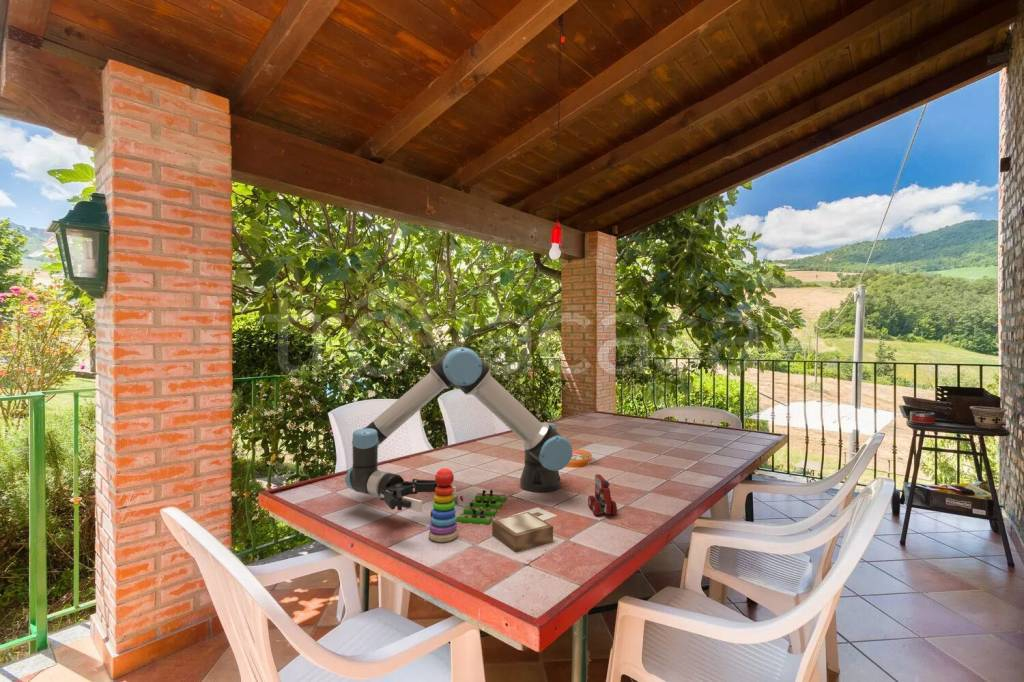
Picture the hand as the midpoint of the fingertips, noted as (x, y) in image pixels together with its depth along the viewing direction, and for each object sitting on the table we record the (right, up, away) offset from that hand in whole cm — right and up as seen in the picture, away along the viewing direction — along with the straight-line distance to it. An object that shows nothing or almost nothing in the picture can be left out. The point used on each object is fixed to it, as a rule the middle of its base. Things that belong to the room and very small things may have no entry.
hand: (439, 499), depth 127 cm
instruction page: (+26, -10, +14) cm, 32 cm away
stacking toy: (+1, -11, 0) cm, 11 cm away
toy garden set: (+6, -11, +21) cm, 25 cm away
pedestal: (+23, -10, -1) cm, 25 cm away
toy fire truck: (+48, -10, +18) cm, 53 cm away
